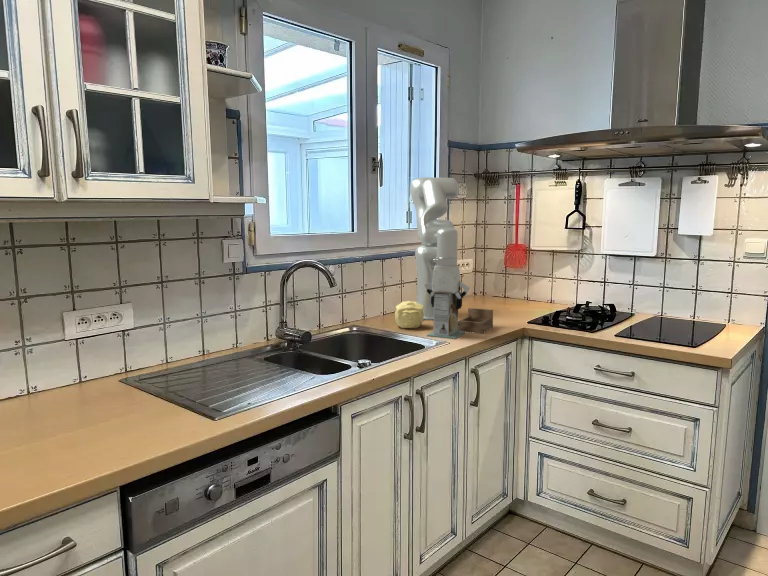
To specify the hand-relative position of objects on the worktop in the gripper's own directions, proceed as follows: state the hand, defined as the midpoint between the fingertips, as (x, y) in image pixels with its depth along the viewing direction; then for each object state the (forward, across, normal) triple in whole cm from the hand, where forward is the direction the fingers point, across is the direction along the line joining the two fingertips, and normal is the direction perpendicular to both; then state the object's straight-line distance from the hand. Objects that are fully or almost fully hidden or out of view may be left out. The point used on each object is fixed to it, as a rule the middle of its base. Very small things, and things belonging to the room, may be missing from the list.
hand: (446, 307), depth 210 cm
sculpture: (+11, -18, +6) cm, 22 cm away
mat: (+10, 0, 0) cm, 10 cm away
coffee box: (+10, 0, 0) cm, 10 cm away
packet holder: (+10, +7, +14) cm, 19 cm away
